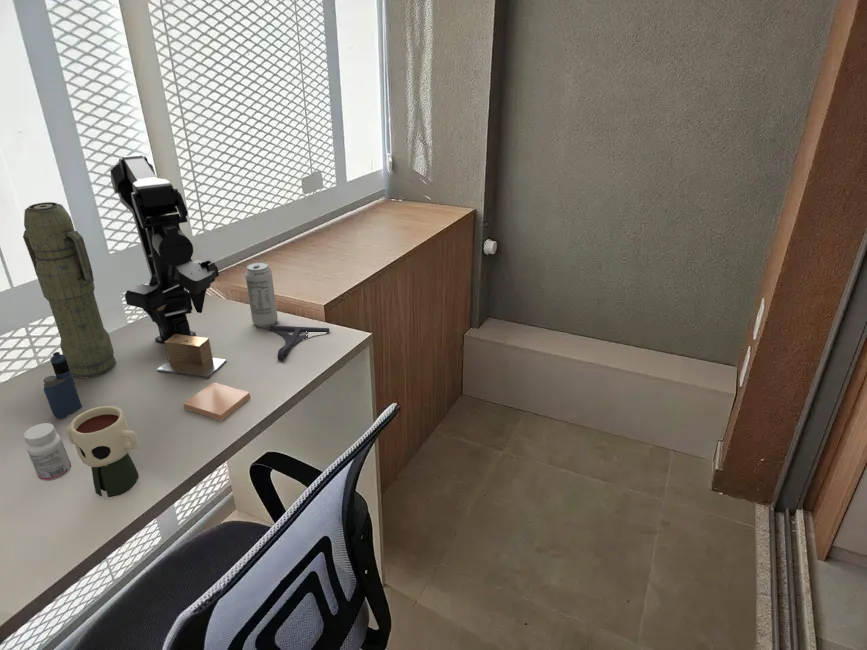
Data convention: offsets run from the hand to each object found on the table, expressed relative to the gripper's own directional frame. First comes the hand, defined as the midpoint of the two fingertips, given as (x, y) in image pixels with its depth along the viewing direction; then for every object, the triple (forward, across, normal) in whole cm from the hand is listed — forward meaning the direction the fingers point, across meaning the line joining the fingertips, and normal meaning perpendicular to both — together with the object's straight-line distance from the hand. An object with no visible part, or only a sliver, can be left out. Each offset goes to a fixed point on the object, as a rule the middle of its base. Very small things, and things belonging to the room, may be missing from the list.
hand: (182, 321), depth 116 cm
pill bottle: (+11, -34, -4) cm, 36 cm away
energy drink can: (+11, +23, -1) cm, 26 cm away
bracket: (+12, +17, -13) cm, 24 cm away
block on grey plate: (+11, 0, 0) cm, 11 cm away
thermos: (+11, -9, +19) cm, 24 cm away
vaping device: (+11, -22, +9) cm, 26 cm away
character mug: (+11, -32, -16) cm, 37 cm away
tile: (+11, -8, -10) cm, 16 cm away
